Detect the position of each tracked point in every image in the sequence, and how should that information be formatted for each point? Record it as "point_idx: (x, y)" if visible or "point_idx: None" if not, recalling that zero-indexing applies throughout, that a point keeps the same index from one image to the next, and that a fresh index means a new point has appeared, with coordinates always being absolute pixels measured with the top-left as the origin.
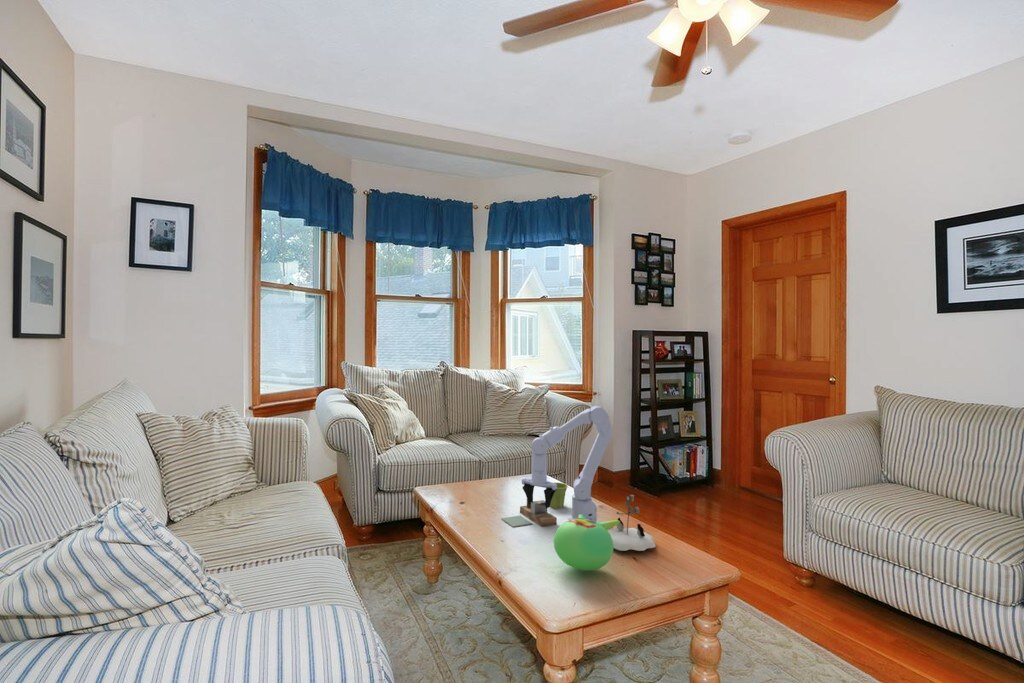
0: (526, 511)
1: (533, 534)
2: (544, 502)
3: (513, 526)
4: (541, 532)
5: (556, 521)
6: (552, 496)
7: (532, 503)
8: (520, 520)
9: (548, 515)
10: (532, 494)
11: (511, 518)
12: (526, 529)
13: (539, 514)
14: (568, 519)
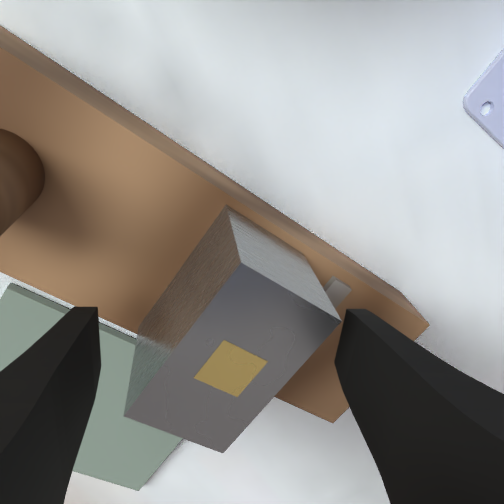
0: (56, 288)
1: (315, 493)
2: (308, 348)
3: (140, 485)
4: (347, 452)
5: (411, 306)
6: (483, 394)
7: (168, 425)
8: (107, 388)
9: (342, 314)
10: (52, 392)
11: None
12: (239, 463)
13: None
14: (473, 118)
